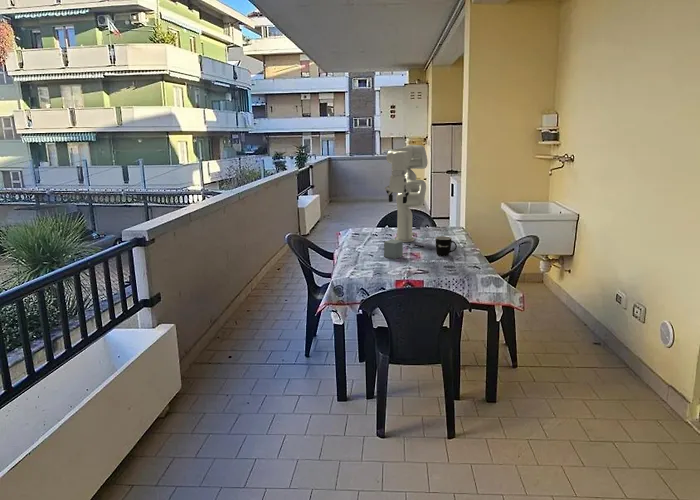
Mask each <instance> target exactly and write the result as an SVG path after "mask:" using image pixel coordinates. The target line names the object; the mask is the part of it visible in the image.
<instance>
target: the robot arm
mask: <svg viewBox="0 0 700 500" xmlns="http://www.w3.org/2000/svg"><path fill="white" fill-rule="evenodd" d="M386 161H387V163H389V164H391V175H390V177H389V185H388V186H385V188H384V189H385V191H386V193H387V196H388V202H389V203H391V202H393V201H394V199H393V198H394V196H393V194H395V193H396V200H395V201H396V206H397V208H396V209H397V222H396V223H397V224H396V225H397V227H396V228H397V231H396V232H397V234H396V235H397V236H396V237H395V238H394V240H399V241H403V243H411V242H415V238H414V237H413V236H414V235H416V234H415V232H413V212H412V210H411V208H421V207H423V205H424V202H425V199H426V191H427V184H426V181H425V180H422V179H417V174H416V172H415V171H413V169H415V170H419V169H420V170H423V169H426V168H427V167H428V163H429V162H428V156H427V150H426V148H425V146H424V145H421V144H417V145H416V144H409V145H405V146H404V147H398V148H393V149H390V150H388V152H387V154H386Z"/></svg>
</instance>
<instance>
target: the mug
mask: <svg viewBox="0 0 700 500" xmlns="http://www.w3.org/2000/svg"><path fill="white" fill-rule="evenodd" d="M452 243H453V244H454V246H455V247H454V249H453V250H451V249H452ZM457 247H458V245H457V243H456V242H455V241H454V240H453V238H452V237H450V236H445V235H444V236H443V235H440V236H436V237H435V251H436V255H437V256H439V257H448V256H449V255H450V253H453V252H455V251H456V249H457Z"/></svg>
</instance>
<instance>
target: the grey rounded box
mask: <svg viewBox="0 0 700 500" xmlns="http://www.w3.org/2000/svg"><path fill="white" fill-rule="evenodd" d="M403 249H404V242H403V241H399V240H395V239H392V238H391V239H389V240H386V241H383V257H384V258H388V259H394V260H396V259H398V258H401V257H403V255H404V254H403V253H404V252H403Z"/></svg>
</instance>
